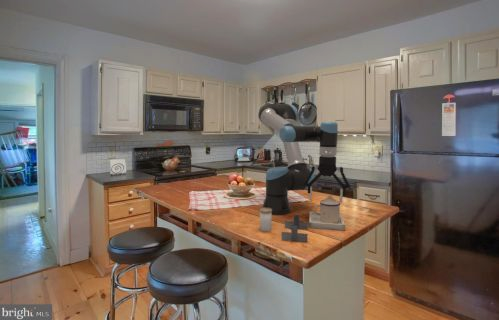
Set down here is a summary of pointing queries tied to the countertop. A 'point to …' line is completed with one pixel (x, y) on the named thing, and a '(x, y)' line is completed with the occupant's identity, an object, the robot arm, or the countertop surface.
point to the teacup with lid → (329, 210)
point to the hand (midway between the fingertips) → (325, 201)
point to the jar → (265, 219)
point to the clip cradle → (295, 230)
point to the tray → (318, 224)
